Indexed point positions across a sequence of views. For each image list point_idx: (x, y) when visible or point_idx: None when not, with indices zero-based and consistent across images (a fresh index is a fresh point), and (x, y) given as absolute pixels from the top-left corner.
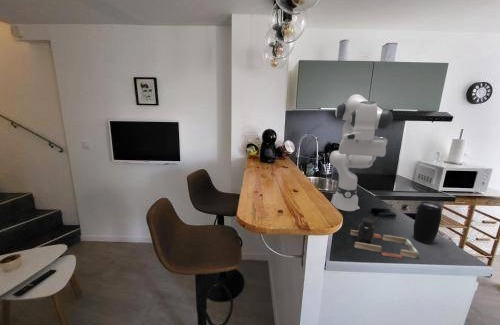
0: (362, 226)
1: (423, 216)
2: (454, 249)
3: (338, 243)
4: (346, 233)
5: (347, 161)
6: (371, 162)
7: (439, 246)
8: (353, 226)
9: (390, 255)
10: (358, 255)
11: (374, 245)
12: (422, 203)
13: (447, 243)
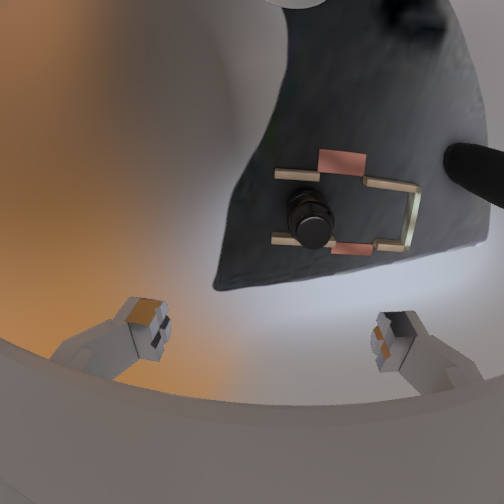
0: (294, 234)
1: (487, 194)
2: None
3: (232, 228)
4: (263, 168)
5: (124, 307)
6: (397, 365)
7: None
8: (296, 115)
9: (348, 252)
10: (273, 265)
11: None
12: None
13: None
